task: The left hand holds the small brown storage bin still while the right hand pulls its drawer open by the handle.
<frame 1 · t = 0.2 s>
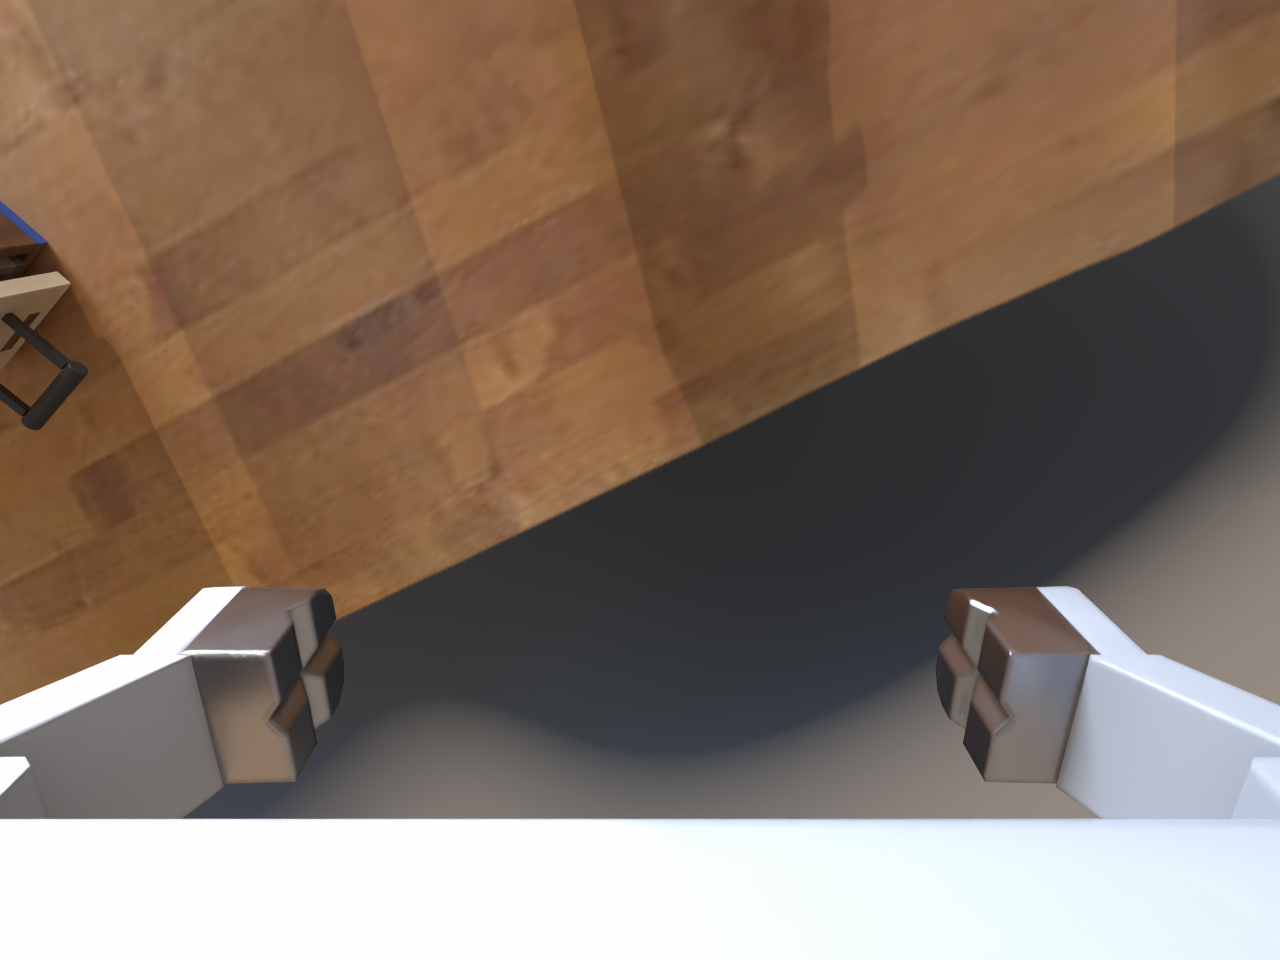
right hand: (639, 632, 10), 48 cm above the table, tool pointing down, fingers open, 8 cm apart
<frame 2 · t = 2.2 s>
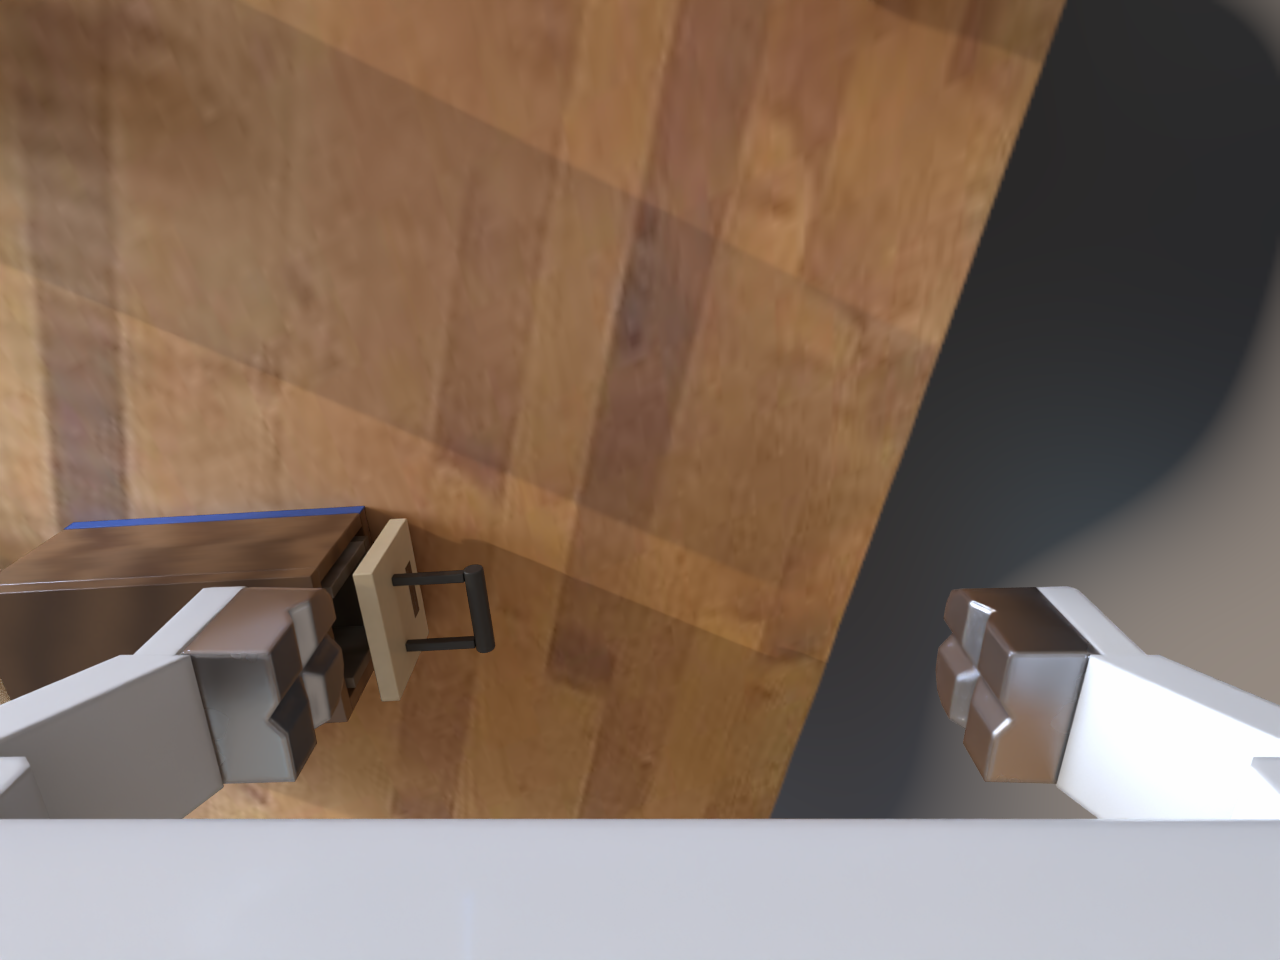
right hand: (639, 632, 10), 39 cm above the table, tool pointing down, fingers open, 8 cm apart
brown storage bin: (238, 580, 55), on the table
drawer: (304, 611, 50), point 5 cm above the table, slide at 1.9 cm
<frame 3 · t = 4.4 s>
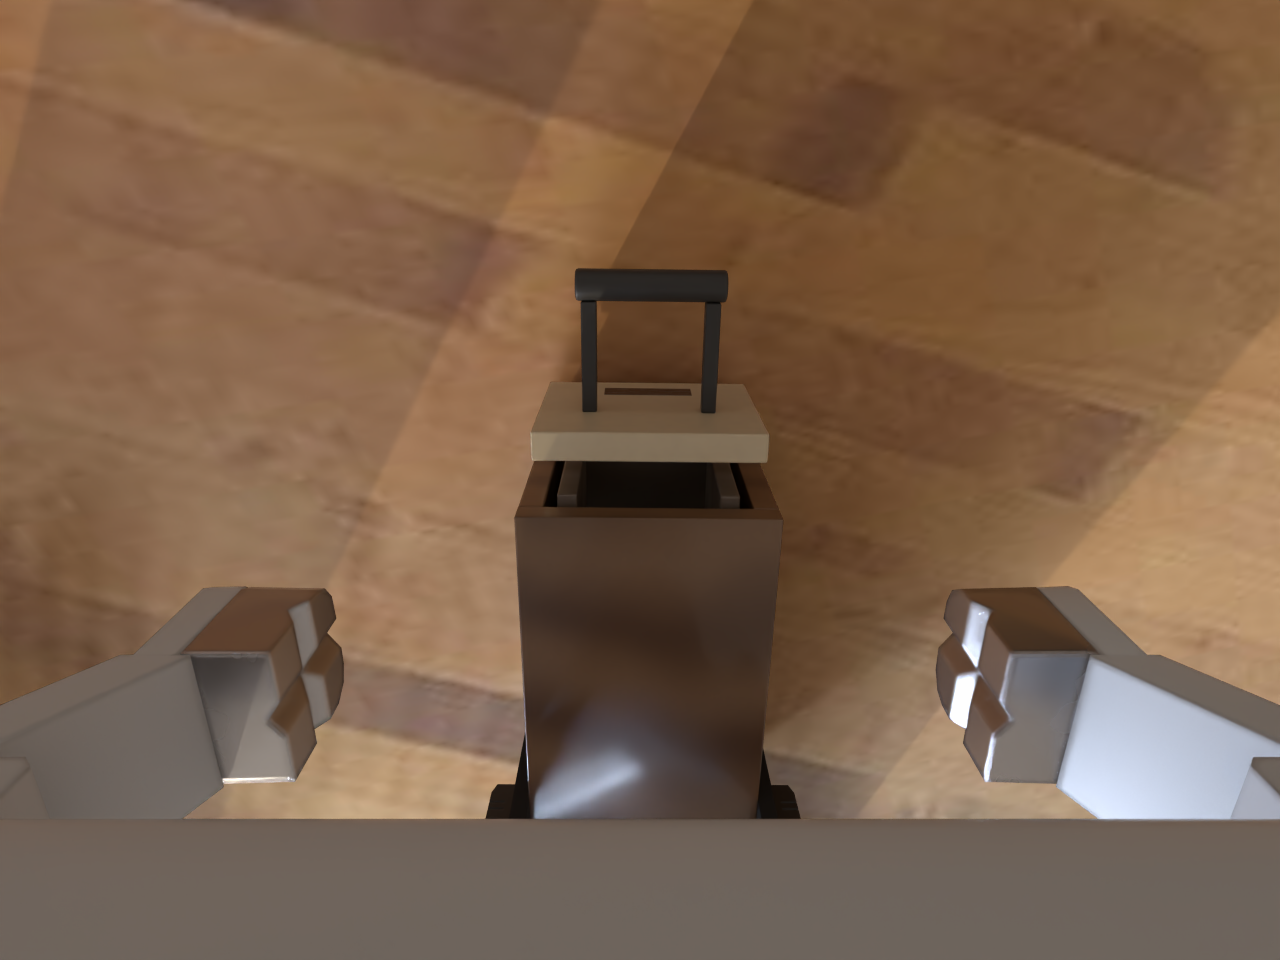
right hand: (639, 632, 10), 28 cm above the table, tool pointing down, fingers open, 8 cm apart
brown storage bin: (642, 611, 42), on the table, touching left hand
drawer: (646, 542, 35), point 5 cm above the table, slide at 1.9 cm
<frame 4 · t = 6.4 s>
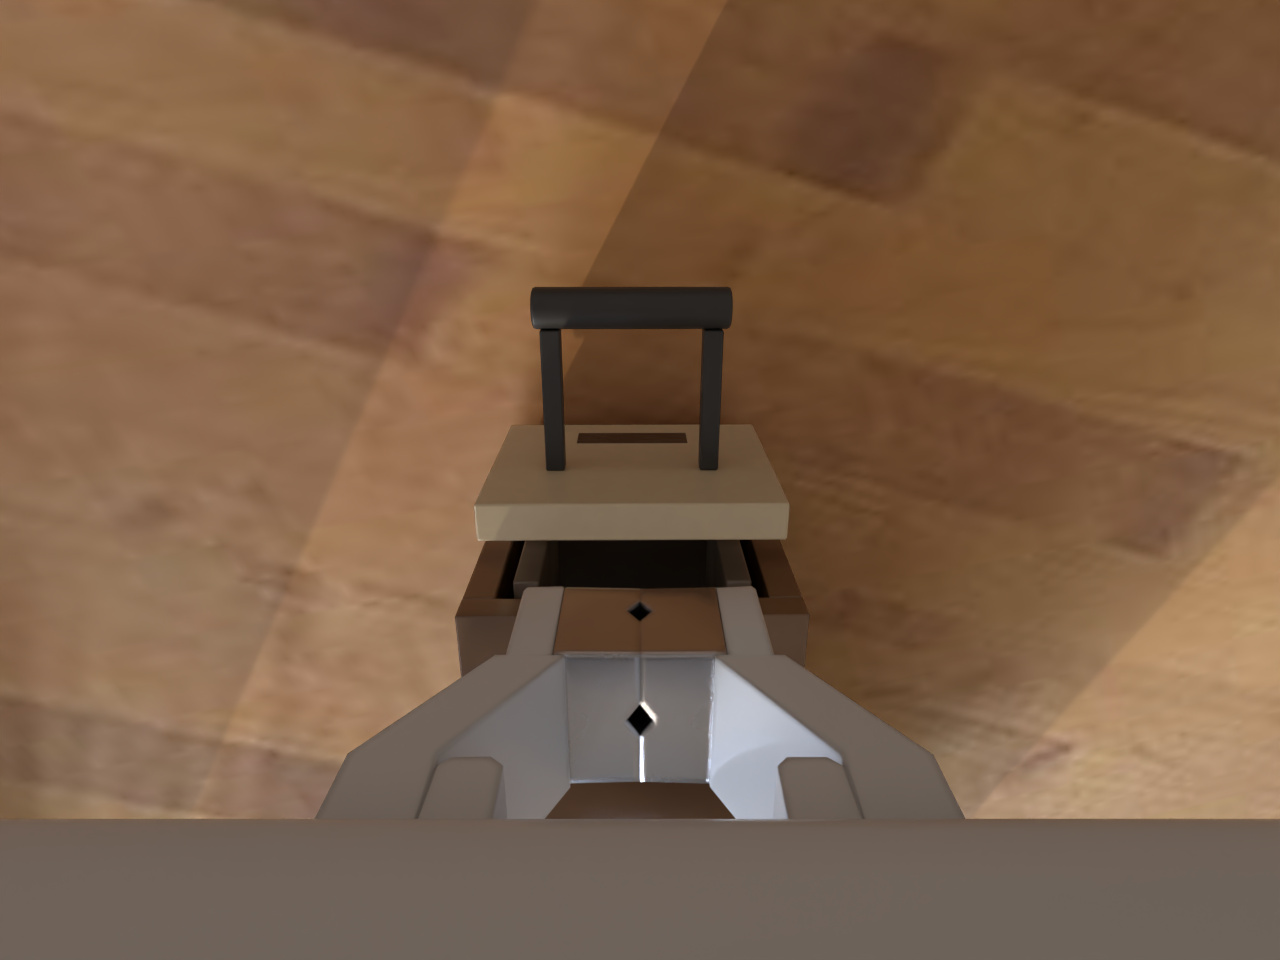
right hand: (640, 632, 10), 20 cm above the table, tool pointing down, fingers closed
brown storage bin: (633, 693, 35), on the table, touching left hand
drawer: (632, 626, 28), point 5 cm above the table, slide at 1.9 cm
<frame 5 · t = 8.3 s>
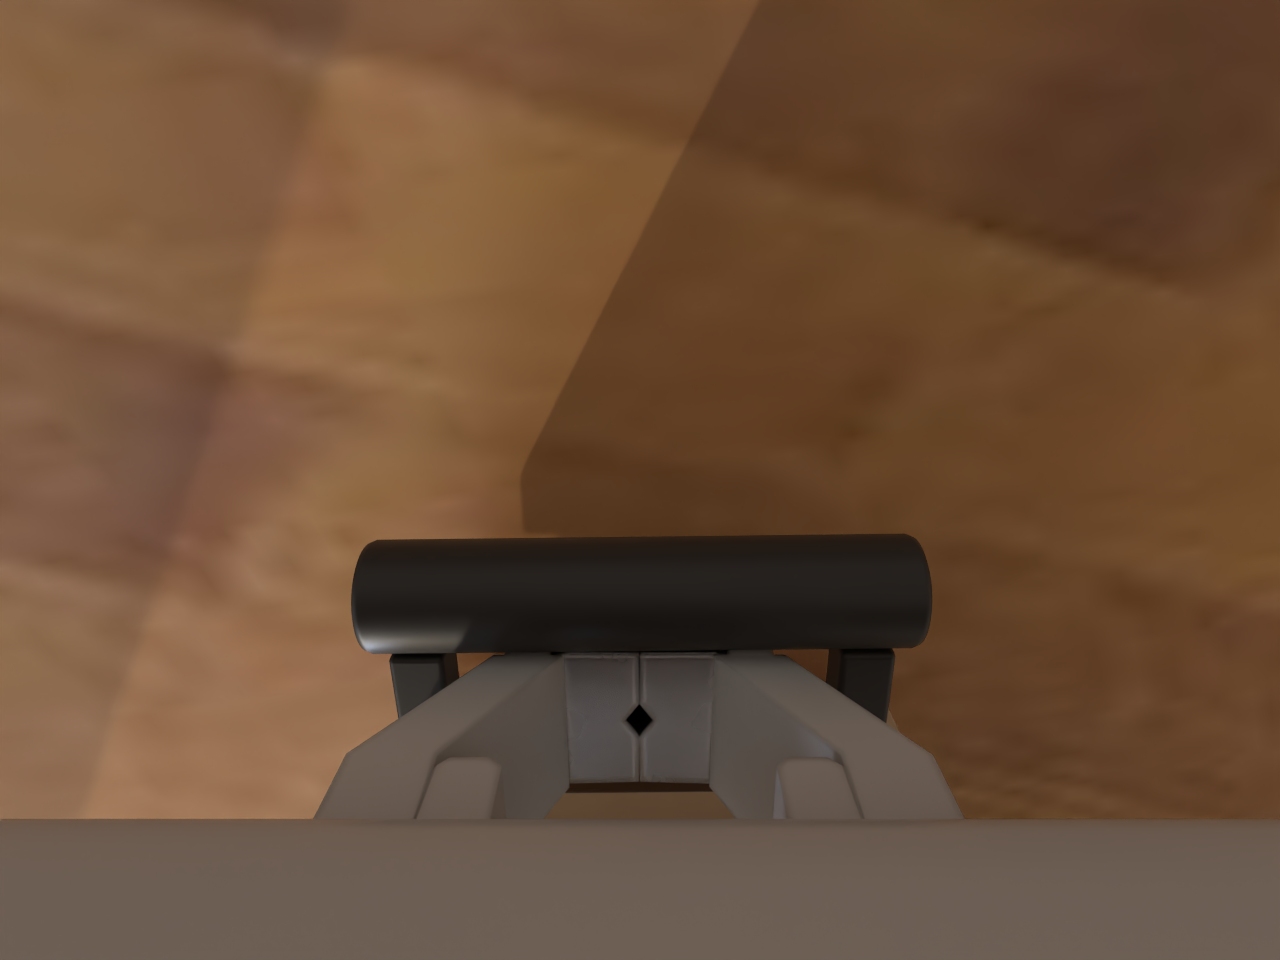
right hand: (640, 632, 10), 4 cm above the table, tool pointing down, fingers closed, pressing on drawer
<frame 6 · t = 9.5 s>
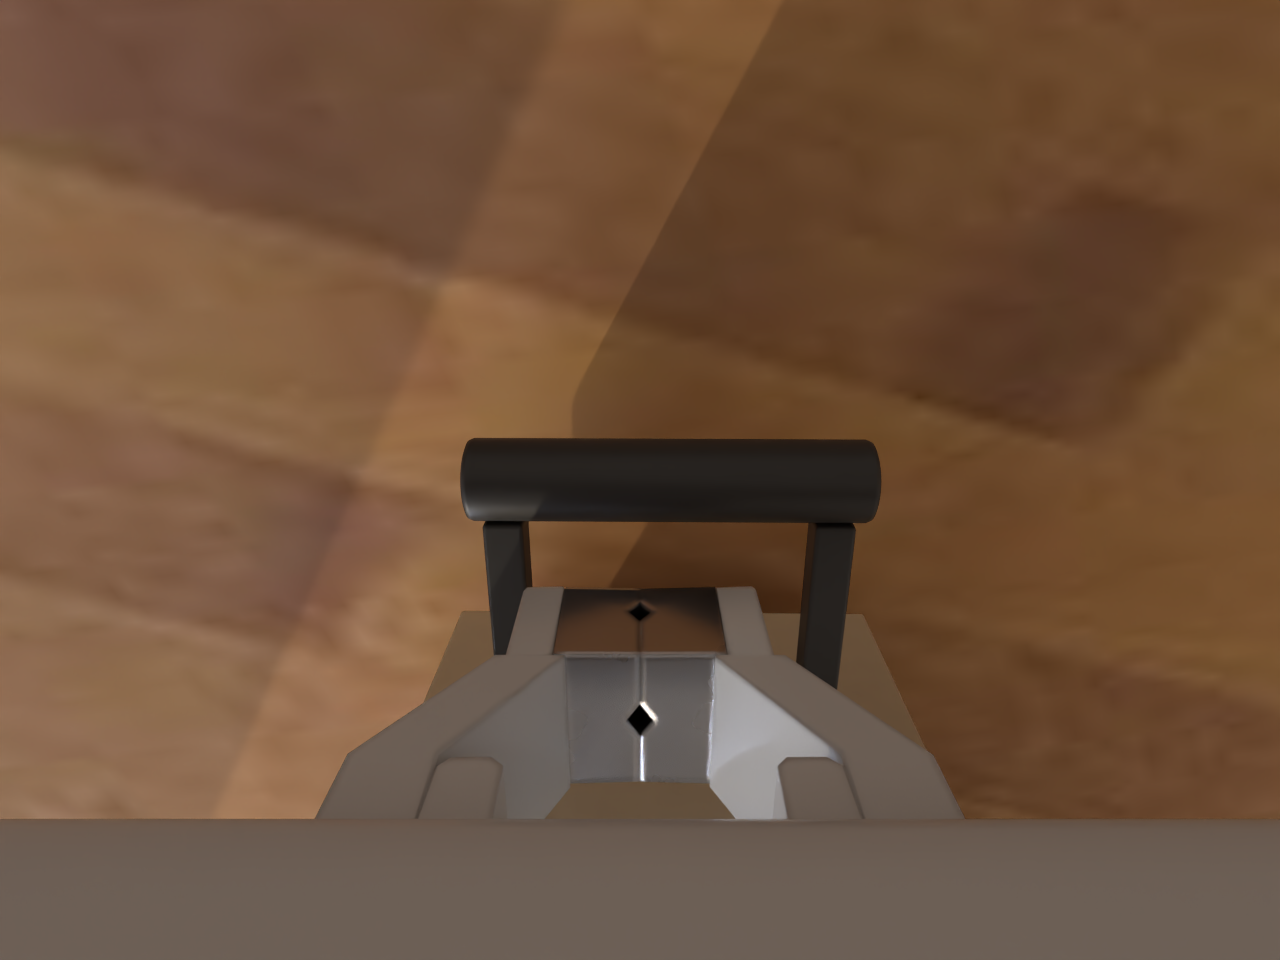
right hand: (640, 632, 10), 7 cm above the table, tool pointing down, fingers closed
when the left hand's fingers open (5 cm above the table, at t = 10.9 s): brown storage bin stays where it is, on the table.
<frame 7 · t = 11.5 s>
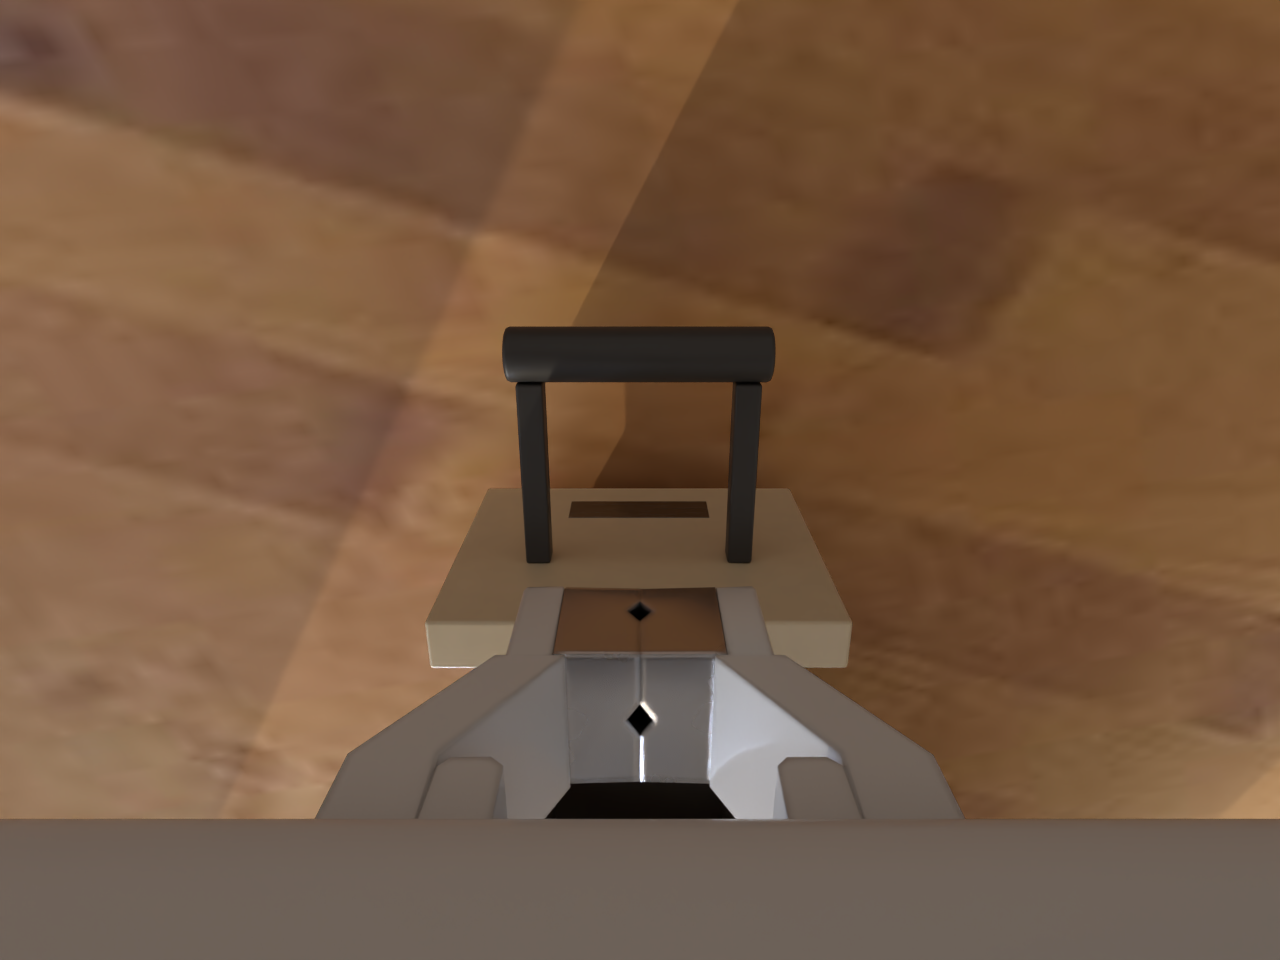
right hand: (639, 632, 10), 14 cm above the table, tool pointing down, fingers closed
drawer: (639, 745, 22), point 5 cm above the table, slide at 5.9 cm
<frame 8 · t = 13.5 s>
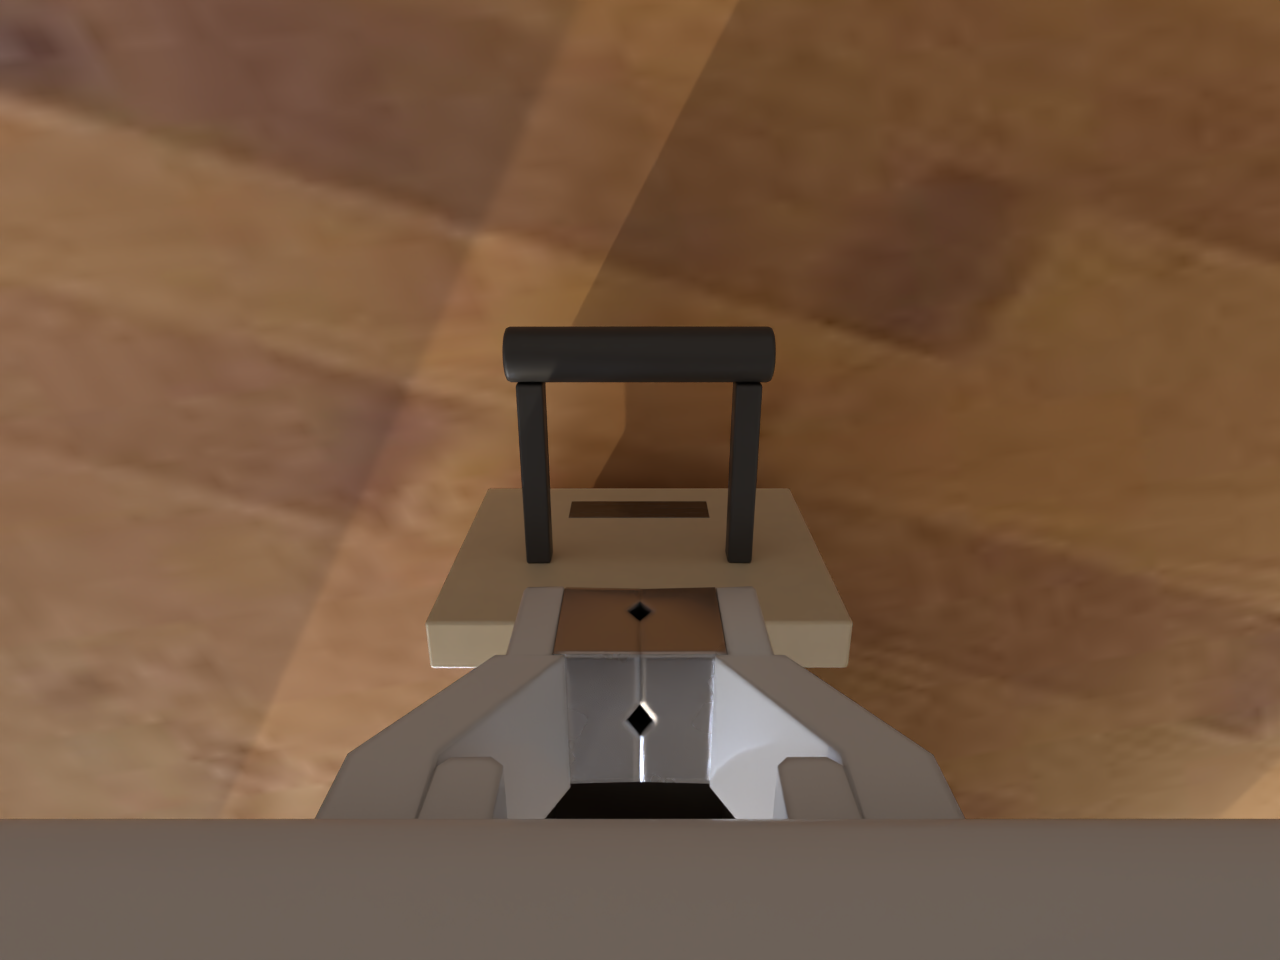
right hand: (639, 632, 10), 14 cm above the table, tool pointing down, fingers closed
drawer: (639, 745, 22), point 5 cm above the table, slide at 5.9 cm
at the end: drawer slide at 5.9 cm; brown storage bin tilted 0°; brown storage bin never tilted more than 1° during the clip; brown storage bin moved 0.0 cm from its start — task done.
